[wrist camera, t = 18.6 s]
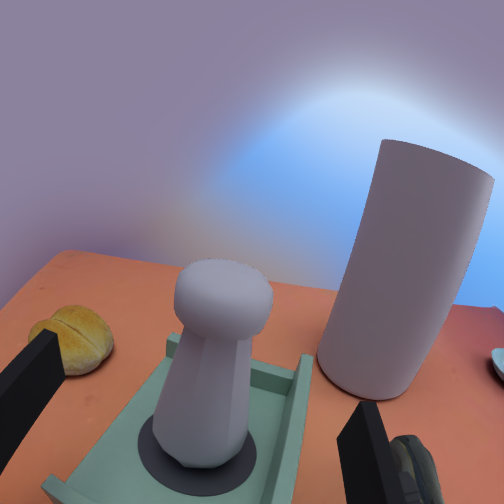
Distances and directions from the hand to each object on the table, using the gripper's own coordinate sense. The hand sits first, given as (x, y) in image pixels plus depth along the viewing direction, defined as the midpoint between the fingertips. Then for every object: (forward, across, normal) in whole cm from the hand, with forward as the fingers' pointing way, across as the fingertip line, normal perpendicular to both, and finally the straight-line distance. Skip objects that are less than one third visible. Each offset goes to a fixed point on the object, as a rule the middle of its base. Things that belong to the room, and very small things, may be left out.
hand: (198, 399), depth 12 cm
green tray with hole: (+3, 0, -12) cm, 12 cm away
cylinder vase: (+20, +17, -12) cm, 29 cm away
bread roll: (+12, -15, -12) cm, 22 cm away
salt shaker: (+3, 0, -9) cm, 9 cm away
